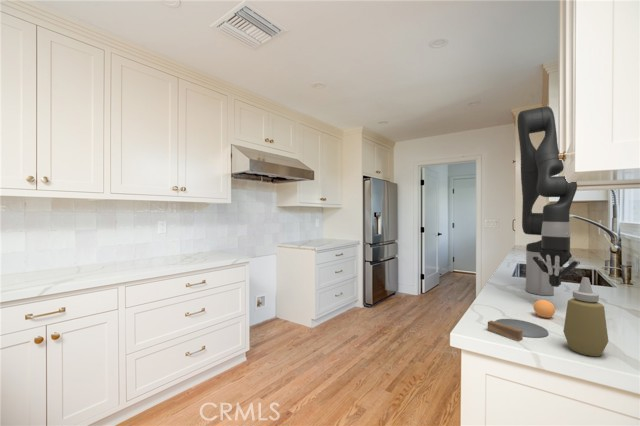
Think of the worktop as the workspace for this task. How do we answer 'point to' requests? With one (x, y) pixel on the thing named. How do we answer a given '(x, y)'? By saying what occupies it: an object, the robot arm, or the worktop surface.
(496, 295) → the worktop surface
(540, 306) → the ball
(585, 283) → the squeeze bottle
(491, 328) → the strip
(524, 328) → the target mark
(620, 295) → the worktop surface
